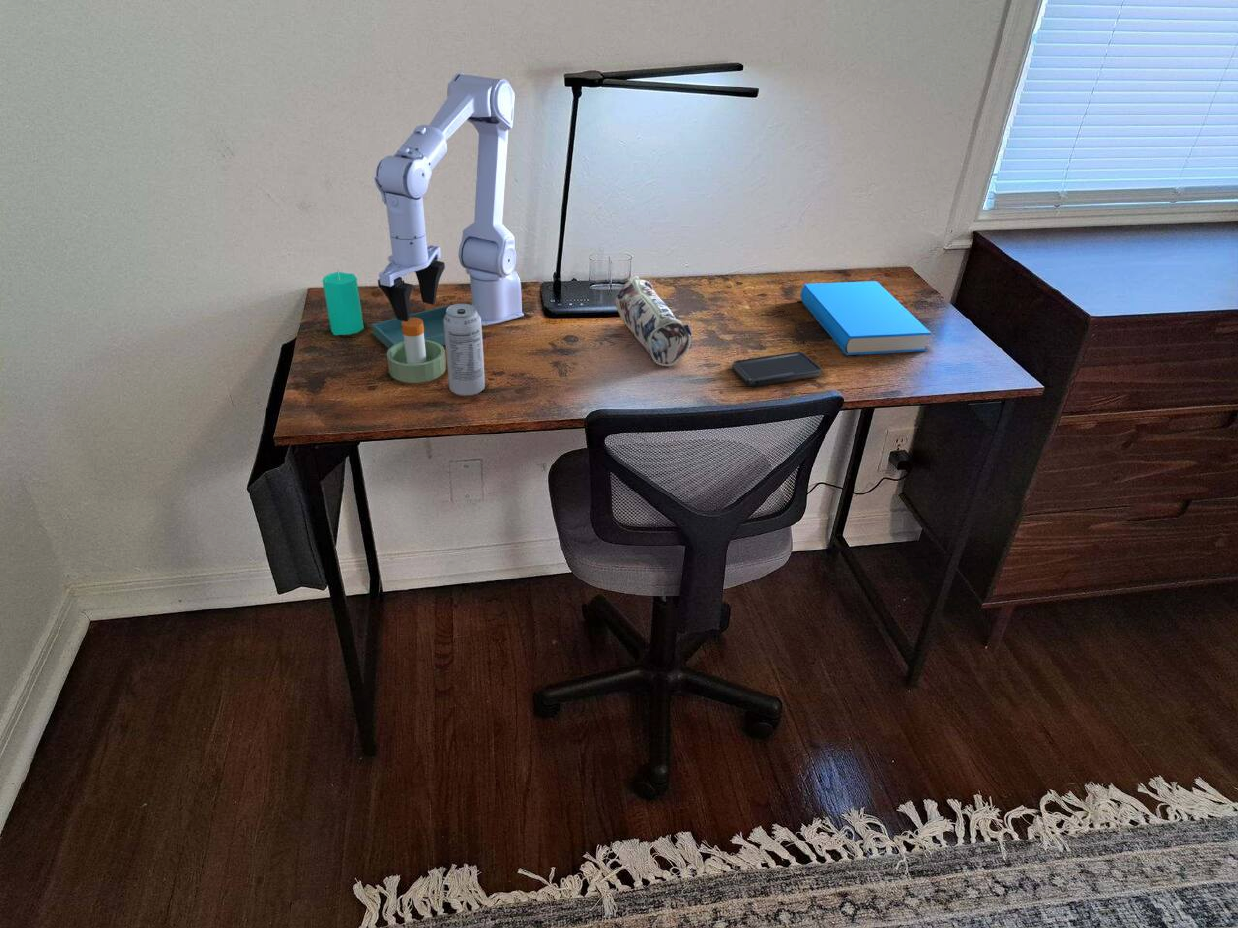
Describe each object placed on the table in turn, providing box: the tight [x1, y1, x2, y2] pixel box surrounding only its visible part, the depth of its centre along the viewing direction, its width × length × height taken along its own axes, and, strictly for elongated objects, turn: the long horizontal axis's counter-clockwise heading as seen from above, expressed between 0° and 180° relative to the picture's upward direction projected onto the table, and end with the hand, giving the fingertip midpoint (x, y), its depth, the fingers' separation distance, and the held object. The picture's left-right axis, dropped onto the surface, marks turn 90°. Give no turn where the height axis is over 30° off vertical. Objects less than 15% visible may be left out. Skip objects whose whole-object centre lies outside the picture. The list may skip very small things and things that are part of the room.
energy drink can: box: [443, 303, 486, 397], centre depth 139 cm, size 6×6×15 cm
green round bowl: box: [386, 340, 447, 384], centre depth 147 cm, size 10×10×4 cm
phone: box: [731, 351, 823, 387], centre depth 152 cm, size 8×1×15 cm
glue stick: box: [401, 318, 427, 364], centre depth 145 cm, size 4×4×9 cm
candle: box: [322, 269, 365, 336], centre depth 157 cm, size 6×6×12 cm
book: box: [800, 280, 932, 356], centre depth 170 cm, size 17×4×25 cm
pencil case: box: [614, 275, 693, 367], centre depth 158 cm, size 22×8×10 cm, turn 18°
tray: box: [371, 304, 450, 349], centre depth 158 cm, size 16×11×2 cm
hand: (416, 311), depth 144 cm, fingers open, 7 cm apart
